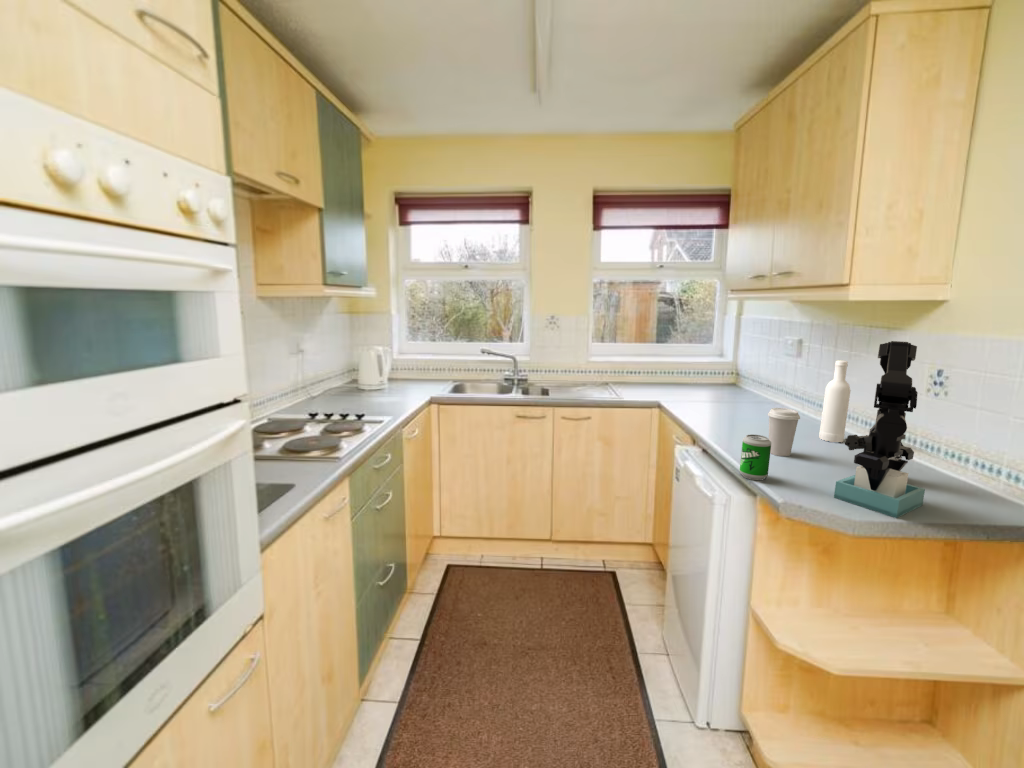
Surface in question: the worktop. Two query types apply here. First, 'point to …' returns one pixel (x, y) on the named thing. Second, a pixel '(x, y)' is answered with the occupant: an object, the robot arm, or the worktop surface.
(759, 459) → the soda can
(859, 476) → the small crate
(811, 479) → the worktop surface
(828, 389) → the bottle
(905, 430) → the robot arm
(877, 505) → the big crate
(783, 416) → the coffee cup
